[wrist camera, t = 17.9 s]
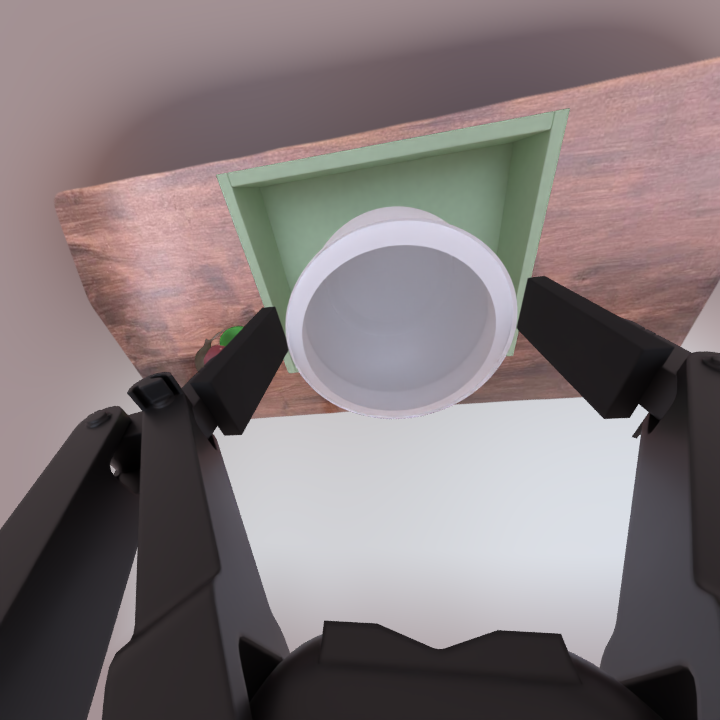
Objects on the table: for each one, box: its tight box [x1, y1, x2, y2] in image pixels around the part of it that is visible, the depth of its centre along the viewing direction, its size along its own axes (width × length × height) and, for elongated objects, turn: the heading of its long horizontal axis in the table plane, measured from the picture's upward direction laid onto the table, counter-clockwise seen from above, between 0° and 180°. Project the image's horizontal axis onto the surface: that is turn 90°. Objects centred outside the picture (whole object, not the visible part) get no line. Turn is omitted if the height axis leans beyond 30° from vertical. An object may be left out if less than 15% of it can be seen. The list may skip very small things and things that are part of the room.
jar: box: [285, 206, 517, 419], centre depth 18 cm, size 11×10×15 cm
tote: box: [216, 108, 570, 373], centre depth 23 cm, size 22×17×6 cm
